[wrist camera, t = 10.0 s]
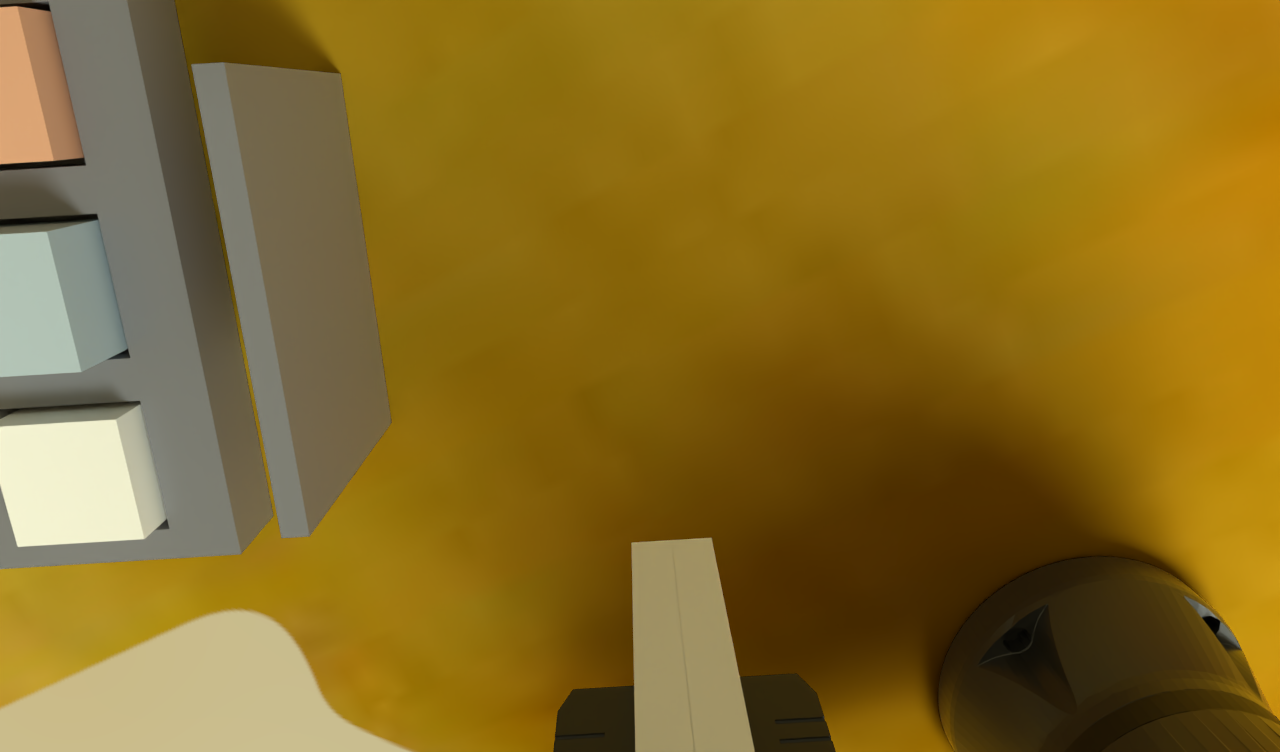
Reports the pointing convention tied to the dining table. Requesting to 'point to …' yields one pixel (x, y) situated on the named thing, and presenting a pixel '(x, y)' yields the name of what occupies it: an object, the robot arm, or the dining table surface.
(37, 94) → the terracotta key
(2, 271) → the slate key
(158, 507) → the offwhite key
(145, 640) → the dining table surface
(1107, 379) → the dining table surface
